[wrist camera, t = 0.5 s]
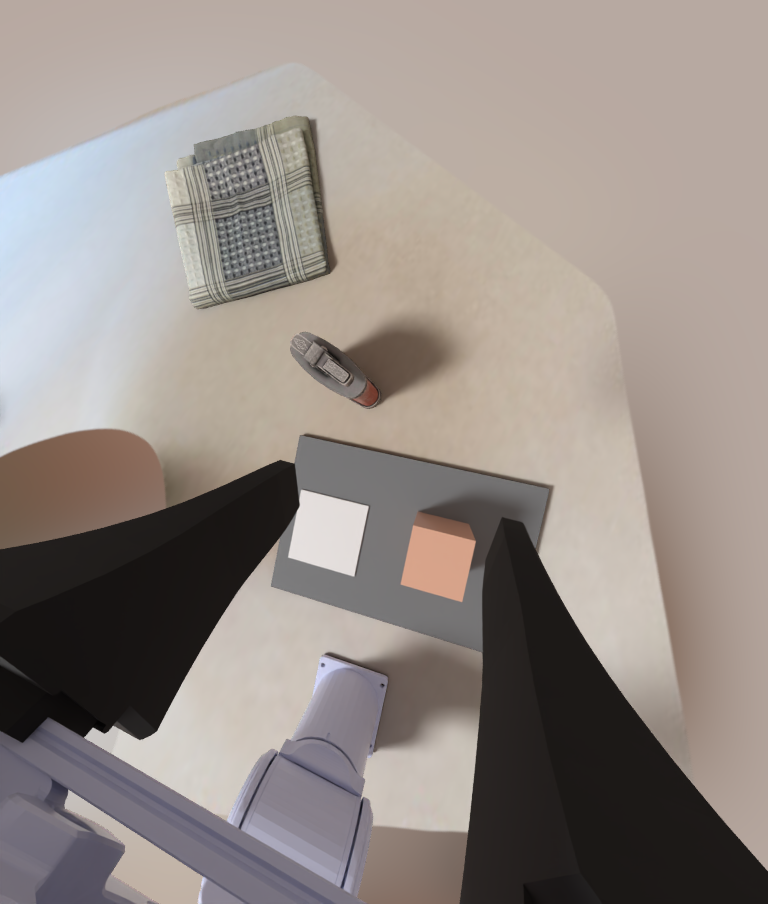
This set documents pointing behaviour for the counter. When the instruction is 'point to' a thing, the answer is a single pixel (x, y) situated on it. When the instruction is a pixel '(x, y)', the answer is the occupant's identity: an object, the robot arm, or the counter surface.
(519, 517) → the mat
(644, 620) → the counter surface
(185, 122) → the counter surface
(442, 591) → the copper orange block
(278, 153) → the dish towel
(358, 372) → the lighter
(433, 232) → the counter surface
